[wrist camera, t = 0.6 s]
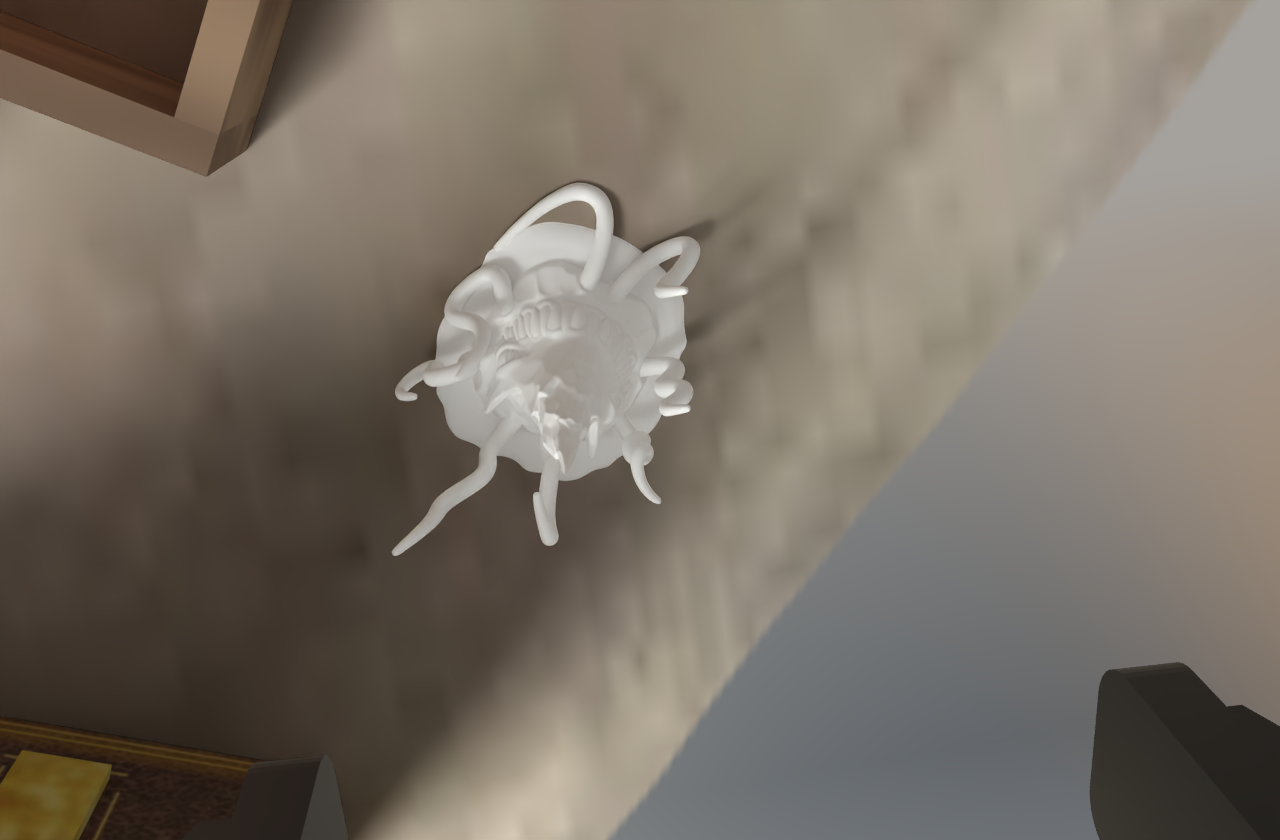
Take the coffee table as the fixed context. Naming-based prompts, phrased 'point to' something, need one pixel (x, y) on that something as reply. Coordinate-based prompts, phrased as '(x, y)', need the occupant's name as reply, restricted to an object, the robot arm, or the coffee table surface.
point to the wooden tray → (153, 85)
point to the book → (108, 785)
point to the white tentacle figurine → (560, 354)
